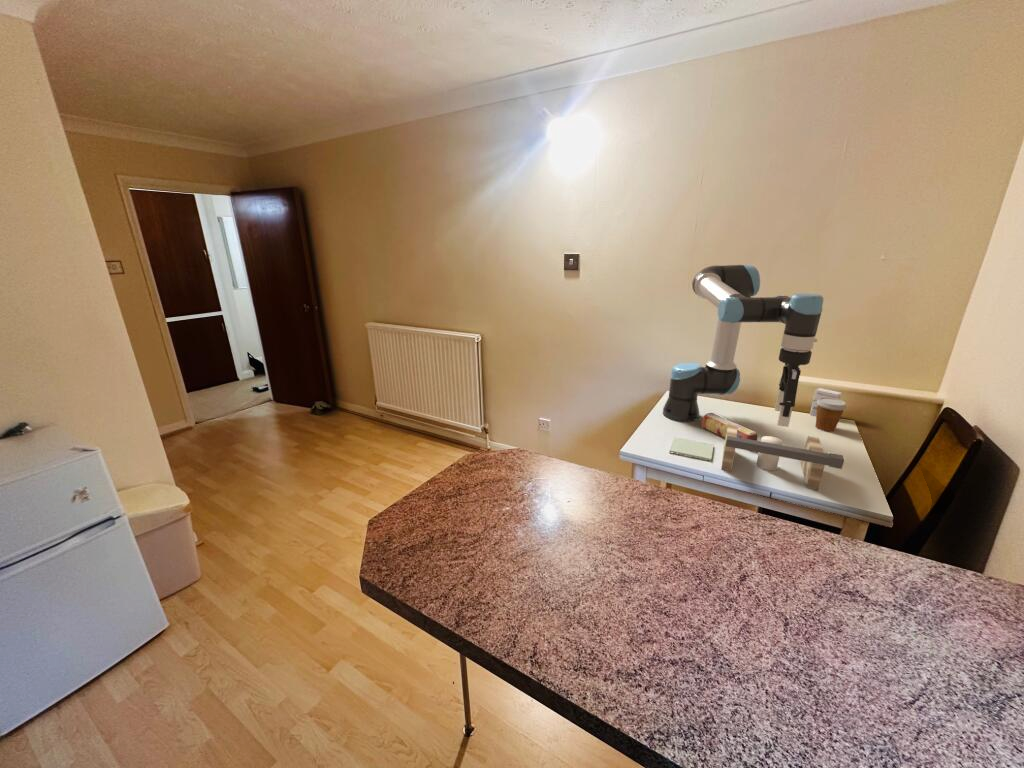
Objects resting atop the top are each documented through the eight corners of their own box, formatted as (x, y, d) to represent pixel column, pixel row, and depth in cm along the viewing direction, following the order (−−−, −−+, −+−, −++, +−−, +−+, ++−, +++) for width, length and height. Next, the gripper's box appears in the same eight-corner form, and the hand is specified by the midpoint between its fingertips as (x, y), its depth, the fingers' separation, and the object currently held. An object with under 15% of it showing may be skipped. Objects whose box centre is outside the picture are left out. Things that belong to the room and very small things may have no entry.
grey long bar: (725, 442, 132) (727, 434, 131) (839, 464, 118) (842, 455, 117) (725, 446, 130) (727, 438, 129) (841, 468, 116) (844, 459, 115)
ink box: (836, 417, 173) (843, 392, 169) (832, 420, 170) (839, 395, 167) (813, 411, 180) (819, 387, 176) (809, 414, 177) (815, 389, 173)
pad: (674, 439, 158) (674, 436, 158) (713, 446, 152) (713, 444, 151) (669, 452, 148) (669, 450, 148) (710, 461, 142) (711, 458, 142)
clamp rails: (723, 448, 150) (728, 422, 147) (811, 465, 138) (818, 437, 134) (721, 469, 137) (726, 441, 133) (818, 489, 124) (826, 459, 121)
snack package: (757, 446, 151) (760, 430, 149) (745, 450, 149) (748, 434, 147) (711, 425, 170) (713, 410, 168) (699, 428, 167) (701, 413, 165)
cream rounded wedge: (756, 460, 142) (761, 434, 139) (776, 464, 139) (781, 438, 136) (756, 468, 137) (761, 442, 134) (777, 472, 134) (783, 445, 131)
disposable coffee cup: (814, 431, 162) (821, 404, 158) (808, 422, 170) (814, 395, 166) (843, 435, 158) (851, 407, 154) (835, 425, 167) (842, 398, 163)
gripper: (818, 360, 104) (800, 436, 111) (807, 341, 123) (792, 406, 131) (783, 357, 107) (768, 431, 114) (778, 339, 127) (765, 402, 134)
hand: (781, 418), depth 123 cm, fingers open, 11 cm apart
